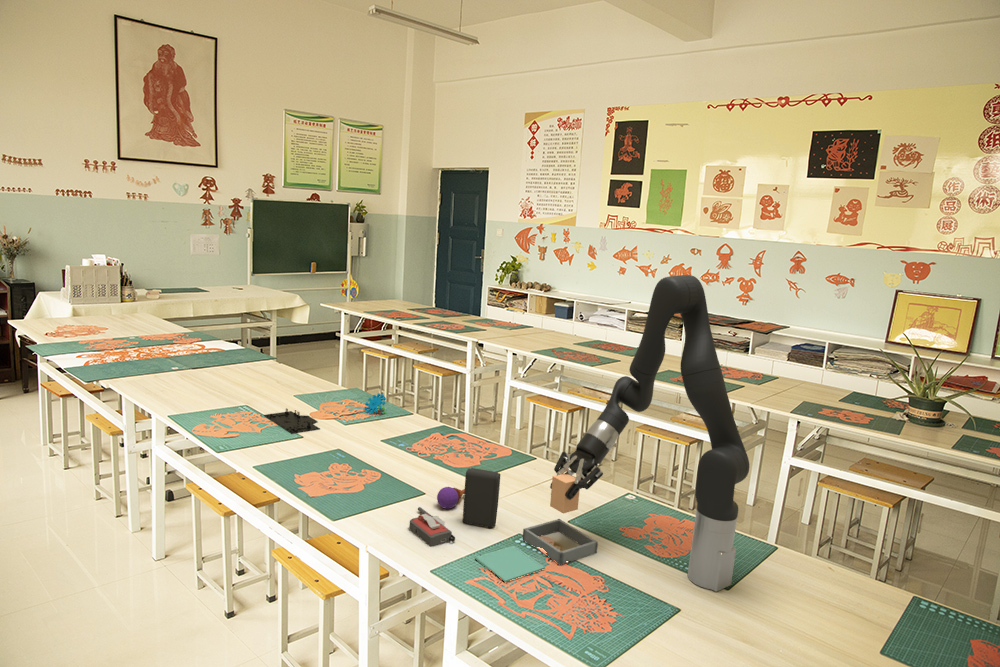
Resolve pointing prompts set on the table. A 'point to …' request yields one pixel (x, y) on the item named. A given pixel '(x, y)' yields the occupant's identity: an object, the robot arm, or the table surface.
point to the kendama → (449, 497)
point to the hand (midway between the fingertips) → (560, 493)
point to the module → (563, 493)
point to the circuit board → (293, 421)
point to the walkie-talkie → (430, 529)
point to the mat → (509, 563)
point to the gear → (375, 404)
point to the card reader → (481, 497)
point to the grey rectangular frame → (586, 542)
